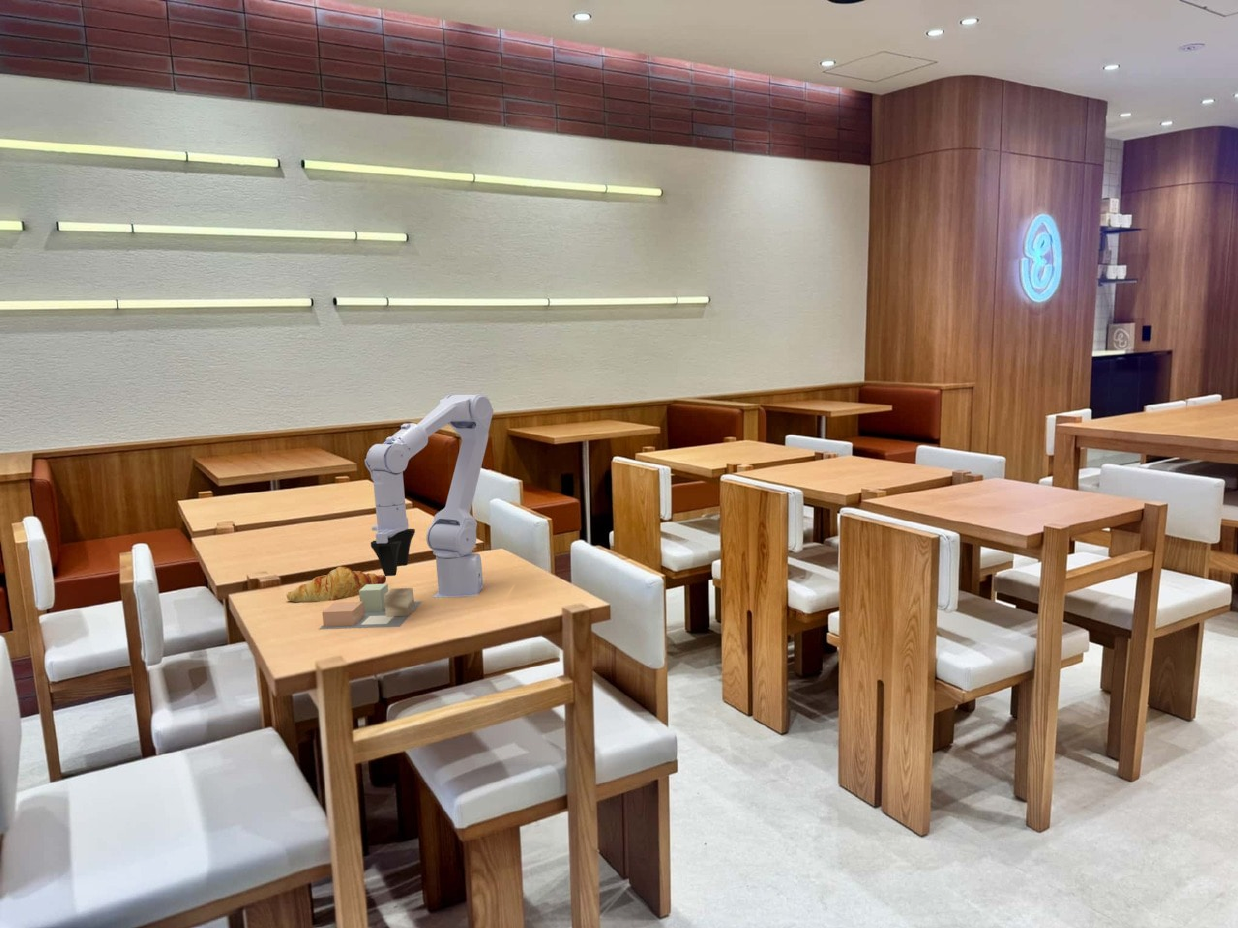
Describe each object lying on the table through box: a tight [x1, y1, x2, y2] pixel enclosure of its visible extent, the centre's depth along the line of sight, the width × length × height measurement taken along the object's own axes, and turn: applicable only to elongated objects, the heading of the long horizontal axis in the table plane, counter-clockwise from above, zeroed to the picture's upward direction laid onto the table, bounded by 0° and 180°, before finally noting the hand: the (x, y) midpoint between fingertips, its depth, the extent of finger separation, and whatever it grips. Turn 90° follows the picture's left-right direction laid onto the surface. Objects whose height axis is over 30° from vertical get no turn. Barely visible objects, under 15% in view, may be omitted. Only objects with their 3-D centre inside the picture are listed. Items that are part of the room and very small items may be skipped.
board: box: [318, 601, 423, 630], centre depth 169 cm, size 16×16×1 cm
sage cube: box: [358, 583, 389, 612], centre depth 174 cm, size 4×4×4 cm
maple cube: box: [384, 587, 415, 617], centre depth 169 cm, size 4×4×4 cm
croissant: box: [286, 566, 387, 603], centre depth 186 cm, size 21×10×8 cm, turn 117°
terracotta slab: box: [321, 601, 365, 627], centre depth 166 cm, size 6×6×3 cm
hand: (396, 570), depth 168 cm, fingers open, 7 cm apart
